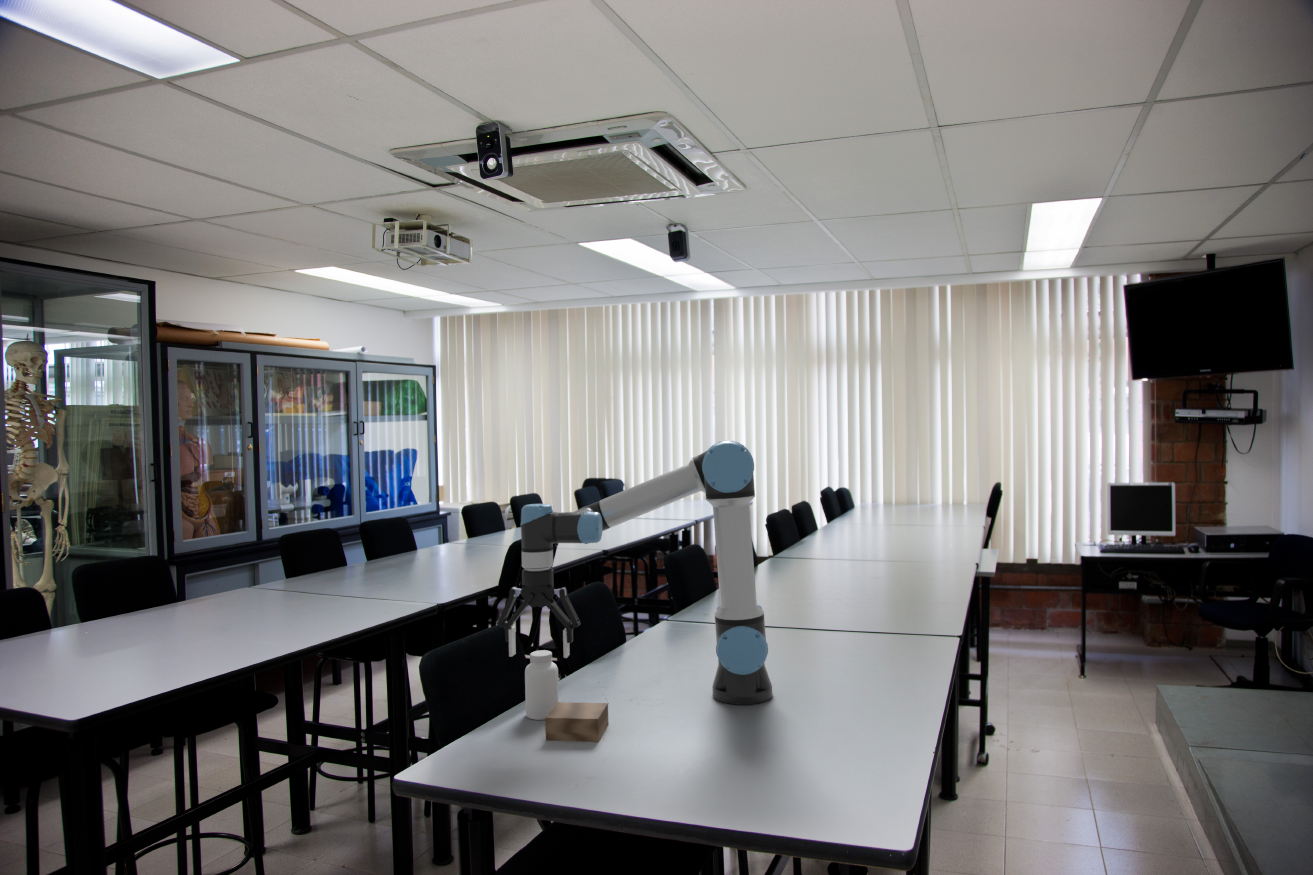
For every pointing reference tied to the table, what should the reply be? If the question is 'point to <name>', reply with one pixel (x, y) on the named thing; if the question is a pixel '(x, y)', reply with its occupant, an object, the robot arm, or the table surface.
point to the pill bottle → (541, 685)
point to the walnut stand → (576, 722)
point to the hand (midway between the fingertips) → (539, 655)
